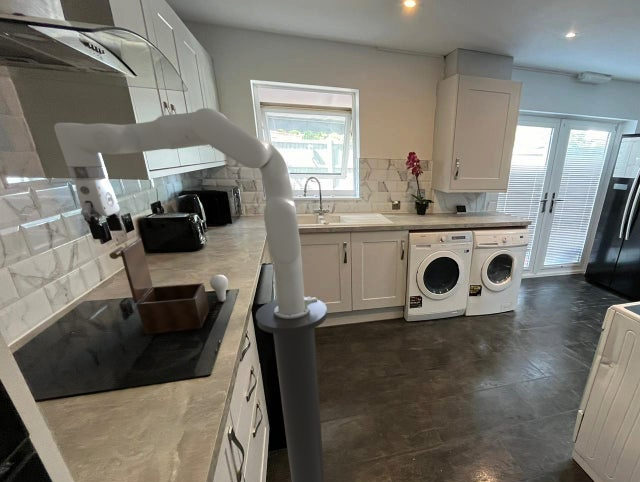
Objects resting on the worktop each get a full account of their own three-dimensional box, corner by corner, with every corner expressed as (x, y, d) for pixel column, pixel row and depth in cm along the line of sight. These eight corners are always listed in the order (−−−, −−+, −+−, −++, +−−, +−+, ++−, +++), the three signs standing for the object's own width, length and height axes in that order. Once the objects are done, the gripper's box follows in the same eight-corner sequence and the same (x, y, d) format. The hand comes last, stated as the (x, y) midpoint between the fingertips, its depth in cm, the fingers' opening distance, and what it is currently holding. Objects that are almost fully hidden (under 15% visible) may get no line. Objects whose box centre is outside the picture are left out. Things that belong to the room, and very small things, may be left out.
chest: (209, 310, 119) (203, 283, 114) (201, 328, 107) (194, 299, 103) (159, 314, 114) (151, 286, 110) (145, 334, 102) (136, 304, 98)
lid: (141, 238, 103) (121, 239, 102) (123, 251, 91) (100, 251, 90) (152, 285, 109) (134, 286, 108) (137, 302, 98) (116, 304, 96)
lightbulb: (232, 297, 129) (228, 271, 125) (230, 303, 124) (225, 277, 119) (215, 298, 127) (210, 272, 123) (212, 305, 122) (206, 278, 118)
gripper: (89, 176, 81) (111, 241, 88) (119, 171, 96) (135, 227, 103) (51, 176, 79) (77, 243, 86) (88, 170, 94) (107, 228, 101)
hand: (109, 234), depth 94 cm, fingers open, 9 cm apart
